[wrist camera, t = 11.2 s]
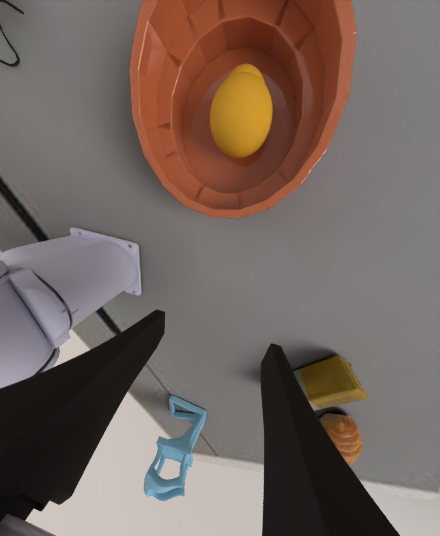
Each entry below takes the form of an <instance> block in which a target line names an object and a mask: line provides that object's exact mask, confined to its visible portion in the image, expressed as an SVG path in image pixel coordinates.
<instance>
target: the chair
mask: <svg viewBox="0 0 440 536" xmlns="http://www.w3.org/2000/svg"><path fill="white" fill-rule="evenodd" d="M174 403H175V404H177V405H179V406H181V407H183V408H185V409H187V410H189V411H191V412H193V413H195V414H193V413H183V412H176V411H175V407H174ZM169 404H170V410H171V416H172V417H174V418H180V419H187V420H194V423H193V424H192V425H191V427H190V428H189V429H188V431H187V432H186V433H185V434H184V435H183V436H181V437H180V438H177V439H166V438H163V437H159V438H158V441H157V446H158V451H157V455H156V457H155V459H154V461H153V463H152V464H151V466H150V468H149V470H148V472H147V473H146V476H145V482H144V491H145V494H146V495H147V496H154V497H155V498H157V499H158V500H161V501H165V500H168V499H171V498H173V497H176V496H184V485H185V477H186V472H187V470H188V467H189V466H190V467H191V466H192V461H193V457H192V449H193V447H194V444H195V442H196V440H197V438H198V435H199V433H200V431H201V429H202V427H203V425H204V423H205V420H206V416H205V415H206V412H207V411H206V410H204V409H202V408H199V407H197V406H195V405H193V404H191V403H188V402H186V401H184V400H182V399H180V398H178V397H176V396H173V395H171V396H170V398H169ZM160 457H161V459H160ZM165 458H168V459H172V460H175V461H178V462H180V463H181V466H180V476H179V477H177V478H174V479H170V480H165V479H162V478H161V477H160V476H159V473H160V471H161V469H162V467H163V464H164V461H165ZM159 459H160V463H159V466H158V469H157V471H156V470H155V468H154V467H155V465H156V464H157V462H158V461H159ZM174 488H175V489H174Z"/></svg>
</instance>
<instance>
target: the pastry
mask: <svg viewBox="0 0 440 536" xmlns="http://www.w3.org/2000/svg"><path fill="white" fill-rule="evenodd" d="M318 419H319V420H320V422H321V424H322V425H323V427H324V428H325V430H326V432H327V433H328V435H329V436H330V438H331V440H332V441H333V443H334V444H335V446H336V447H337V449H338V450H339V452H340V453H341V455H342V456H343V458H344V459H345V461H346V462H347V463H348V465H350V466H351V465H352V462H353V461H355V458H357V457H358V456H359V455H360V453H361V447H362V439H361V436H360V434H359V431H358V428H357V426H356V424H355V422H354V420H353V419H352V418H351V417H350V416H349V415H347V416H344V415H339V414H330V413H328V414H327V413H326V414H323V416H322V417H321V418H318Z"/></svg>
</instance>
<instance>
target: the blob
mask: <svg viewBox="0 0 440 536" xmlns="http://www.w3.org/2000/svg"><path fill="white" fill-rule="evenodd" d="M272 114H273V108H272V100H271V96H270V93H269V90H268V88H267V86H266V85H265V82H264V79H263V76H262V74H261V72H260V71H259V70H258V69H257V68H256V67H255V66H253V65H251V64H241V65H238V66H237V67H235V68H234V69H233V70H232V71H231V72H230V73H229V75H228V76H227V78H226V80H225V81H224V82H223V83H222V84H221V85H220V87H219V88H218V90H217V92H216V94H215V96H214V98H213V101H212V105H211V110H210V127H211V132H212V136H213V139H214V141H215V143H216V145H217V146H218V147H219V149H220V150H221V151H222V152H223V153H225V154H226V155H228V156H230V157H233V158H244V157H247V156H249V155H251V154H253V153H254V152H255V151H257V150H258V149H259V147H260V146H261V145H262V144H263V142H264V141H265V139H266V137H267V135H268V133H269V130H270V127H271V122H272Z"/></svg>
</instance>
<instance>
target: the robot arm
mask: <svg viewBox="0 0 440 536" xmlns="http://www.w3.org/2000/svg"><path fill="white" fill-rule="evenodd" d="M70 233H71V235H70V236H66V237H61V238H57V239H52V240H47V241H43V242H38V243H34V244H29V245H24V246H20V247H15V248H12V249H9V250H7V251H4V252H3V253H1V254H0V536H55V535H53V534H51V533H49V532H47V531H45V530H43V529H41V528H38V527H37V526H35V525H32V524H30V523H28V522H26V521H25V520H26V518H27V517H28V516H29V514H30V513H31V511H32V510H33V509H37V510H39V511H42V510H43V509H44V508H45V506H46V505H47V503H48V502H49V500H50V501H52V502H54V503H56V504H59V505H60V504H62V503H63V502H64V501H66V500H67V499H69V498H70V497H71V496H72V494H73V493H74V490H75V488H76V486H77V484H78V482H79V480H80V479H81V477H82V475H83V473H84V471H85V469H86V467H87V465H88V463H89V461H90V459H91V457H92V455H93V453H94V451H95V449H96V447H97V446H98V444H99V442H100V440H101V438H102V436H103V434H104V432H105V430H106V429H107V427H108V425H109V423H110V421H111V420H112V418H113V416H114V414H115V412H116V411H117V409H118V407H119V405H120V403H121V402H122V400H123V398H124V397H125V395H126V393H127V391H128V390H129V388H130V386H131V385H132V383H133V382H134V380H135V379H136V377H137V376H138V374H139V373H140V371H141V370H142V368H143V367H144V366H145V364H146V363H147V361H148V360H149V358H150V357H151V355H152V354H153V352H154V351H155V349H156V348H157V346H158V344H159V342H160V340H161V338H162V337H163V335H164V330H165V312H163V311H160V310H155V311H153V312H152V313H150V314H149V315H147V316H146V317H145V318H143V319H142V320H140V321H139V322H137V323H136V324H134V325H132V326H131V327H129V328H128V329H126V330H125V331H123V332H121V333H120V334H118V335H116V336H115V337H113V338H111V339H109V340H108V341H106V342H104V343H102V344H101V345H99V346H97V347H95V348H93V349H91V350H89V351H87V352H85V353H83V354H81V355H79V356H77V357H75V358H73V359H71V360H69V361H67V362H65V363H62V364H60V365H58V366H56V367H53V366H54V364H55V363H56V361H57V359H58V357H59V352H60V350H59V346H60V345H62V344H63V343H64V342H66V341H67V340H68V339H69V338H70V336H69V332H68V331H69V330H70V329H72V328H73V327H74V326H76V325H77V324H78V323H80V322H81V321H83V320H84V319H85V318H87V317H88V316H89V315H91V314H92V313H94V312H95V311H96V310H98V309H99V308H100V307H102V306H103V305H104V304H106V303H107V302H109V301H110V300H111V299H113V298H114V297H115V296H117V295H118V294H119V293H121V292H122V291H124V292H127V293H131V294H134V295H138V296H139V295H140V294H141V293H142V291H141V274H140V257H139V246H138V244H137V243H135V242H131V241H127V240H123V239H119V238H115V237H111V236H107V235H103V234H99V233H95V232H91V231H87V230H83V229H80V228H76V227H72V228H70ZM130 245H131V246H132V247H131V246H130ZM52 367H53V368H52ZM261 394H262V408H263V422H264V500H263V529H262V536H400V535H399V534H398V532H397V531H396V530H395V528H394V527H393V526H392V524H391V523H390V522H389V520H388V519H387V518H386V516H385V515H384V514H383V512H382V511H381V510H380V509H379V507H378V506H377V504H376V503H375V502H374V500H373V499H372V498H371V496H370V495H369V494H368V492H367V491H366V489H365V488H364V486H363V485H362V484H361V482H360V481H359V479H358V478H357V476H356V475H355V473H354V472H353V471H352V469H351V468H350V466H349V465H348V463H347V462H346V461H345V459H344V458H343V456H342V455H341V453H340V452H339V450H338V449H337V447H336V446H335V444H334V443H333V441H332V440H331V438H330V436H329V435H328V433H327V432H326V430H325V428H324V427H323V425H322V424H321V422H320V420H319V419H318V417H317V415H316V413H315V412H314V410H313V408H312V406H311V405H310V403H309V401H308V399H307V398H306V396H305V394H304V392H303V390H302V388H301V386H300V384H299V382H298V380H297V379H296V377H295V375H294V373H293V371H292V368H291V366H290V364H289V362H288V360H287V358H286V356H285V354H284V352H283V349H282V347H281V346H279V345H276V344H272V343H271V344H270V346H269V348H268V350H267V352H266V354H265V356H264V358H263V360H262V362H261Z"/></svg>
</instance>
